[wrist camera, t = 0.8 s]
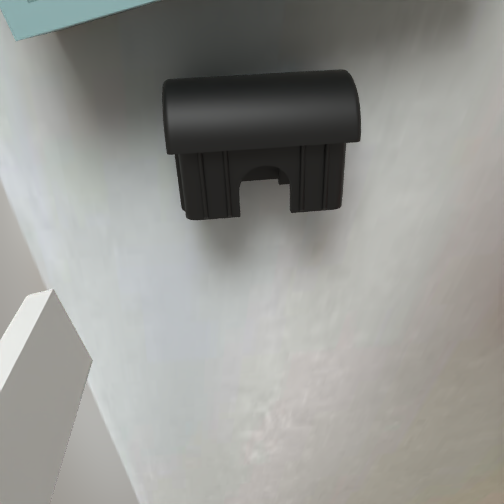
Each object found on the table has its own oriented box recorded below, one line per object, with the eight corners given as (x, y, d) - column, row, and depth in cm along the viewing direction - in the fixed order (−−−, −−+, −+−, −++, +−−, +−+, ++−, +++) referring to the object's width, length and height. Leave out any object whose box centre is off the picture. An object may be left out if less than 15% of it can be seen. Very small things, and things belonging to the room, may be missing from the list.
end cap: (331, 61, 27) (367, 78, 21) (326, 171, 31) (355, 212, 25) (167, 70, 27) (157, 90, 21) (181, 182, 30) (176, 226, 24)
